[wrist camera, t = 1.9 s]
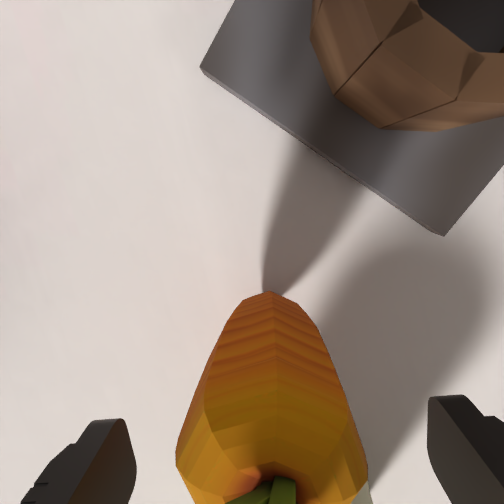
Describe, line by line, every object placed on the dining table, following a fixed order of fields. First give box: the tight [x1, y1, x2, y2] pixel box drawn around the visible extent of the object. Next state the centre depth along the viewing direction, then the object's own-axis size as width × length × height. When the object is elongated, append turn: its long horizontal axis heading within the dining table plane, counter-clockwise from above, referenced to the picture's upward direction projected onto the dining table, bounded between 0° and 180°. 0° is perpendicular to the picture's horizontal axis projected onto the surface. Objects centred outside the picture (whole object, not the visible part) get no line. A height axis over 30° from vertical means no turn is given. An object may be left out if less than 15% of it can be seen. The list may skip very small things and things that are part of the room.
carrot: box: [175, 291, 368, 504], centre depth 11 cm, size 5×5×15 cm
